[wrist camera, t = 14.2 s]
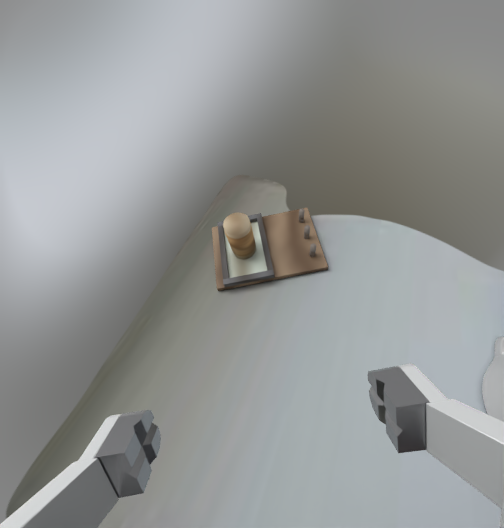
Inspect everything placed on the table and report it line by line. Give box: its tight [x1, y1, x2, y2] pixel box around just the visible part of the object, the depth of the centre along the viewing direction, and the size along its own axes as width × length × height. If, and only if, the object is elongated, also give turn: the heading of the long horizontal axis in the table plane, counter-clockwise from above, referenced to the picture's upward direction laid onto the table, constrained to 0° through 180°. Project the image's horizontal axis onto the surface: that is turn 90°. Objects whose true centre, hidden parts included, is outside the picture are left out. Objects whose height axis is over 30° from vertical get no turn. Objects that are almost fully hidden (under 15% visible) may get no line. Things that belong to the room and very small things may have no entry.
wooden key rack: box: [212, 208, 328, 291], centre depth 45 cm, size 20×14×4 cm
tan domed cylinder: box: [223, 213, 256, 259], centre depth 42 cm, size 5×5×8 cm
